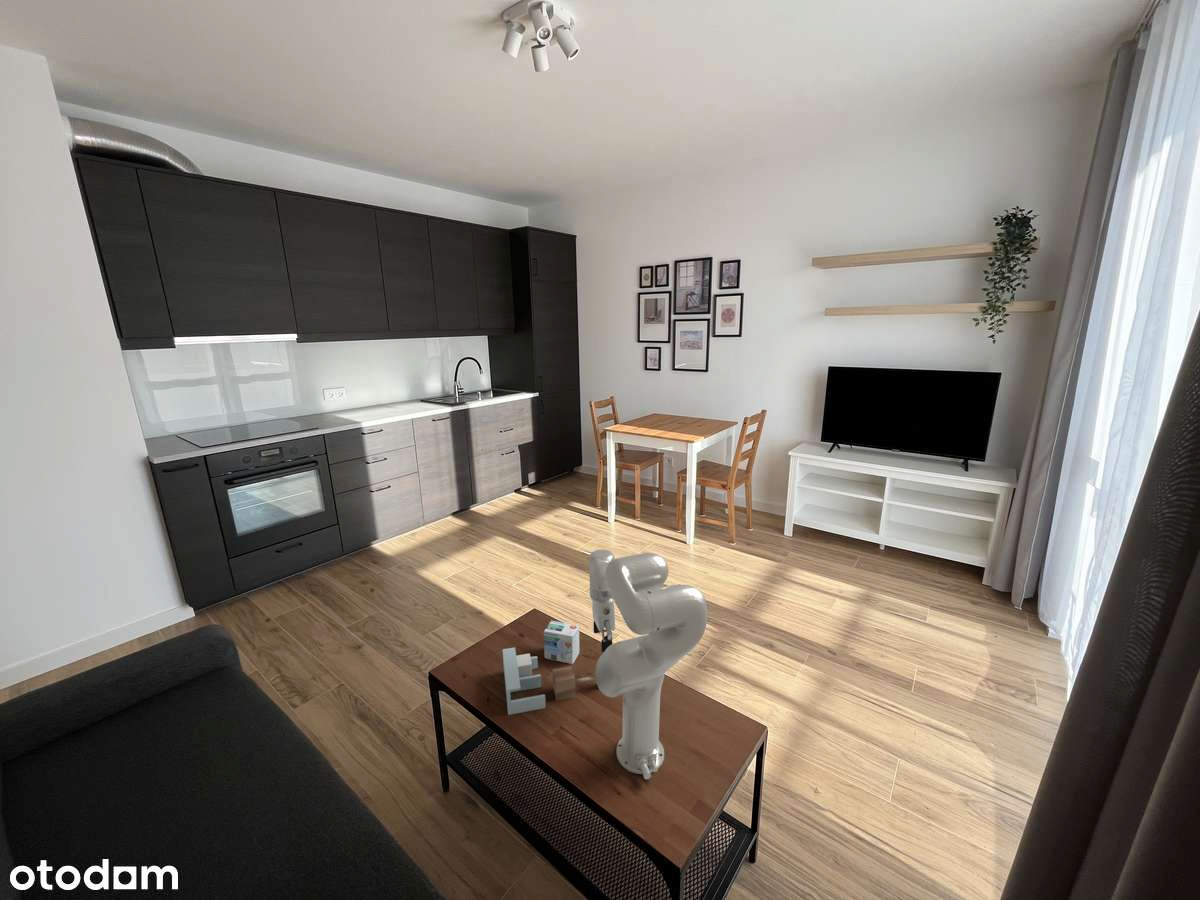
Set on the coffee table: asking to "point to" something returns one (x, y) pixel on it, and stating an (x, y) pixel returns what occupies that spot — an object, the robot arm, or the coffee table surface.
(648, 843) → the coffee table surface
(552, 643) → the light bulb box
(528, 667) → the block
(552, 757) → the coffee table surface
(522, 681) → the lane cubby
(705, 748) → the coffee table surface
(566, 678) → the tethered block
